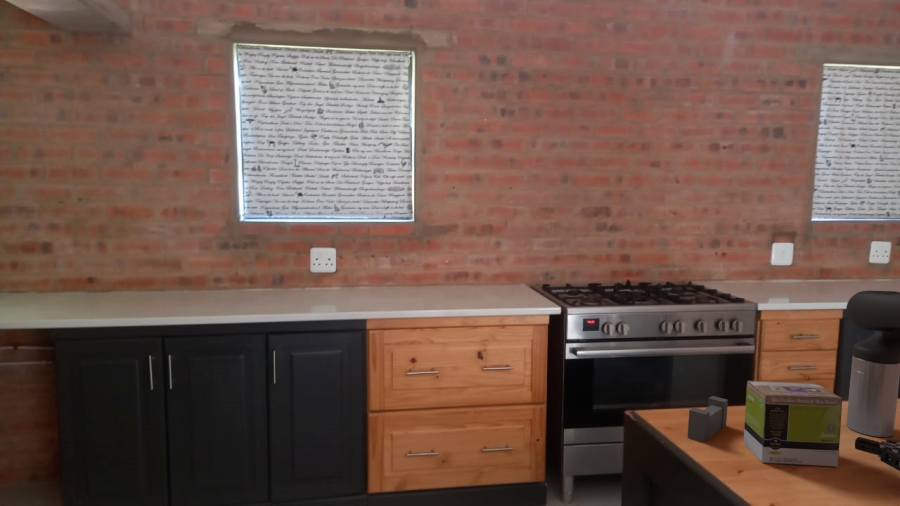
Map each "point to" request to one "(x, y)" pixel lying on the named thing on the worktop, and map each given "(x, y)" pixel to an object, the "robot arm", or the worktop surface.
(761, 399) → the tea box
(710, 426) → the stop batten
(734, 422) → the worktop surface
